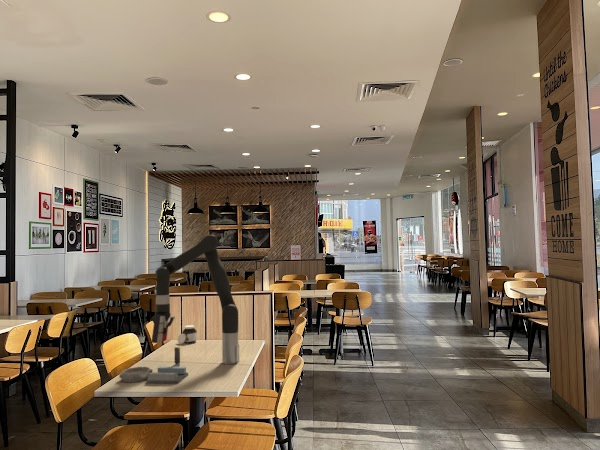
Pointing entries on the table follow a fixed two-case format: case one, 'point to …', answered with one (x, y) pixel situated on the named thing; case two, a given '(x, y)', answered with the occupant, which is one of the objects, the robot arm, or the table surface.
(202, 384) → the table surface
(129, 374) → the dish
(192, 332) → the spread jar
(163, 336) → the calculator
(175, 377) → the vise
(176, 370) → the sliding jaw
